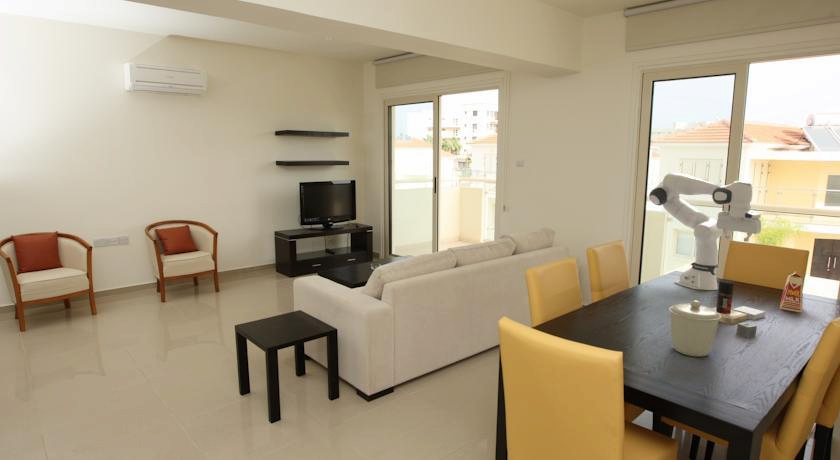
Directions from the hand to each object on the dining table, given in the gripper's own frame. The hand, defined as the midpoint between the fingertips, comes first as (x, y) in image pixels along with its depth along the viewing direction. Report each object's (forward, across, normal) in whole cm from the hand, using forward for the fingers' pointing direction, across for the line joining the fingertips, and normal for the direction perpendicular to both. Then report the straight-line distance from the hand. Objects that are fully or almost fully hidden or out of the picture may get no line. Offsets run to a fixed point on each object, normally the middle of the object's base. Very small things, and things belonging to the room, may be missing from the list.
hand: (736, 239), depth 255 cm
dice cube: (+34, +29, -41) cm, 61 cm away
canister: (+34, +27, -79) cm, 90 cm away
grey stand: (+34, +15, -11) cm, 39 cm away
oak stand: (+34, +11, -25) cm, 44 cm away
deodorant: (+32, +11, -26) cm, 42 cm away
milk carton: (+34, +20, +20) cm, 44 cm away
